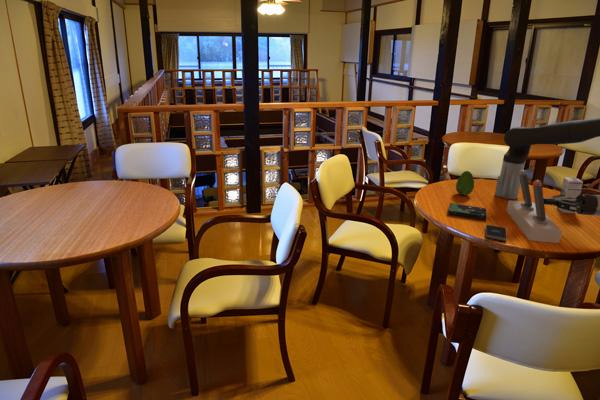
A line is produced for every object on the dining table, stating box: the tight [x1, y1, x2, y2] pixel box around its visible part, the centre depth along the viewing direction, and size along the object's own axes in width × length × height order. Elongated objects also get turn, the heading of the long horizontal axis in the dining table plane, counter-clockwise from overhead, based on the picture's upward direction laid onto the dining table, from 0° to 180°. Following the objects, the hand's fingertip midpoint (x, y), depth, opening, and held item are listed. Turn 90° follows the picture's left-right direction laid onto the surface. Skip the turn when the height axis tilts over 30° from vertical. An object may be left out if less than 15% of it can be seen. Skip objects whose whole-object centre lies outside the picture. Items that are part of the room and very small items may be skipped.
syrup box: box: [557, 176, 584, 214], centre depth 178 cm, size 6×6×14 cm
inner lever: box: [519, 169, 533, 207], centre depth 165 cm, size 3×5×15 cm, turn 168°
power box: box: [506, 200, 563, 244], centre depth 162 cm, size 10×30×6 cm, turn 169°
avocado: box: [455, 170, 475, 196], centre depth 195 cm, size 8×8×12 cm
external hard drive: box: [484, 224, 508, 243], centre depth 153 cm, size 7×11×2 cm, turn 157°
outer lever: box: [532, 179, 547, 221], centre depth 151 cm, size 3×5×15 cm, turn 168°
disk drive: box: [447, 202, 487, 222], centre depth 173 cm, size 10×3×15 cm
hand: (542, 200), depth 151 cm, fingers closed
